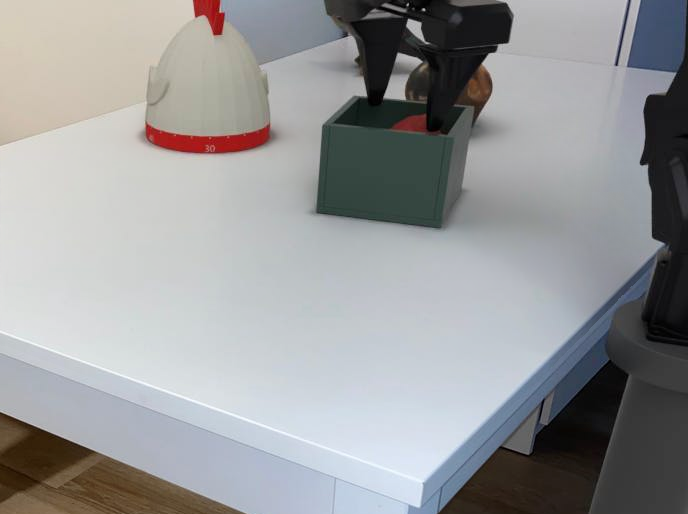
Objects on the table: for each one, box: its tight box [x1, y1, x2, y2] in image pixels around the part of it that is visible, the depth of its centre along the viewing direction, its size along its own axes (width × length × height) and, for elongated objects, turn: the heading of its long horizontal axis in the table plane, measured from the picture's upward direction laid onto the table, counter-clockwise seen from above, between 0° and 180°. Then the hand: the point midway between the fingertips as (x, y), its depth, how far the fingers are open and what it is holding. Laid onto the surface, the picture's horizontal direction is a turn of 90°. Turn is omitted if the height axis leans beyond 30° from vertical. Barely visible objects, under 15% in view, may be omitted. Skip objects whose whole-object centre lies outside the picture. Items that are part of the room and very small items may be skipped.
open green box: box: [315, 94, 474, 229], centre depth 91 cm, size 11×11×8 cm
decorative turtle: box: [404, 60, 494, 130], centre depth 112 cm, size 10×15×8 cm, turn 174°
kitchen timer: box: [144, 0, 271, 154], centre depth 106 cm, size 14×14×15 cm
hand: (402, 118), depth 88 cm, fingers open, 9 cm apart
